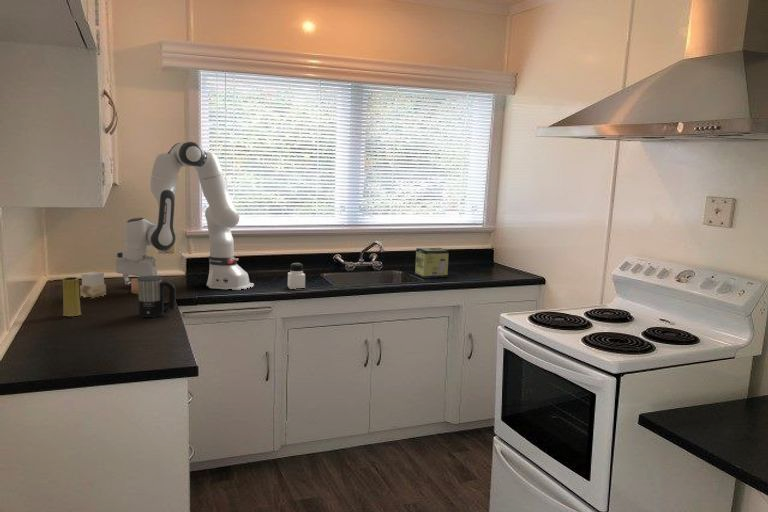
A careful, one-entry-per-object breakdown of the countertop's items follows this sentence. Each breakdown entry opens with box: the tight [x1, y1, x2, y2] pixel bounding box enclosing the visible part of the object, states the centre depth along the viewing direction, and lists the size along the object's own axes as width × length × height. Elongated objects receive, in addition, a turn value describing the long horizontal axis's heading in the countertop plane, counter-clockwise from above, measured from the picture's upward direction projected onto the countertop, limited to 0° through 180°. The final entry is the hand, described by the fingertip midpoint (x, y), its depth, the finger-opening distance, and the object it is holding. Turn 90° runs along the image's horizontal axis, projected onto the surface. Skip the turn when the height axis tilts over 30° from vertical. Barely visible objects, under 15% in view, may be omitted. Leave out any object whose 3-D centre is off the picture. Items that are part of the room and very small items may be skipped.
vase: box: [62, 276, 82, 317], centre depth 221 cm, size 6×6×14 cm
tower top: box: [81, 271, 105, 287], centre depth 253 cm, size 6×6×5 cm
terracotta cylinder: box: [130, 277, 139, 295], centre depth 263 cm, size 5×5×6 cm
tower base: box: [79, 283, 107, 299], centre depth 254 cm, size 7×7×5 cm
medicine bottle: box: [287, 262, 306, 290], centre depth 286 cm, size 7×7×12 cm
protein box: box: [414, 247, 450, 278], centre depth 330 cm, size 10×16×16 cm
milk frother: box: [136, 275, 177, 318], centre depth 231 cm, size 14×16×15 cm
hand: (136, 285), depth 263 cm, fingers open, 8 cm apart
